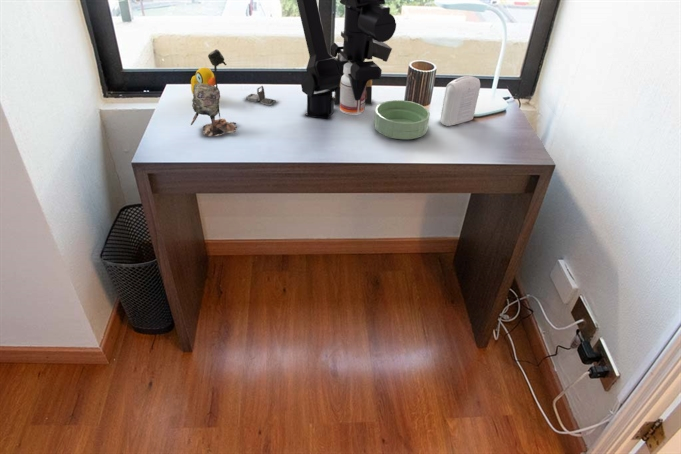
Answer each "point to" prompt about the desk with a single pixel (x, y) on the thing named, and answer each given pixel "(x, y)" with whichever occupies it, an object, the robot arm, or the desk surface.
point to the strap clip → (260, 97)
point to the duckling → (203, 77)
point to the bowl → (401, 119)
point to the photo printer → (460, 100)
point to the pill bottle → (350, 95)
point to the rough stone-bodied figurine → (211, 102)
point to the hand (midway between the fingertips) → (352, 94)
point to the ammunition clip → (367, 95)
